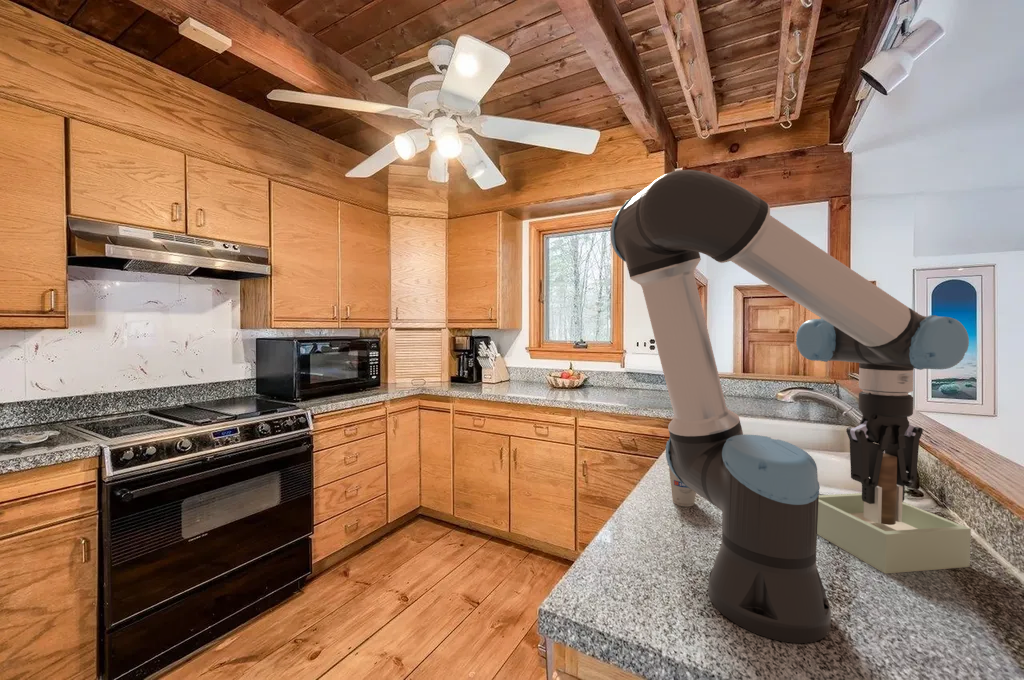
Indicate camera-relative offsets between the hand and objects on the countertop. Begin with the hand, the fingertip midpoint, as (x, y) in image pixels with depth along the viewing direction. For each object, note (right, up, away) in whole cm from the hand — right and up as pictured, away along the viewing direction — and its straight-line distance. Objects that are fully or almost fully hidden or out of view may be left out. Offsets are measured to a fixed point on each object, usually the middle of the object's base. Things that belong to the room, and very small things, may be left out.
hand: (882, 519), depth 79 cm
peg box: (0, -5, 0) cm, 5 cm away
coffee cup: (-29, -5, +20) cm, 35 cm away
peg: (0, 0, 0) cm, 0 cm away
